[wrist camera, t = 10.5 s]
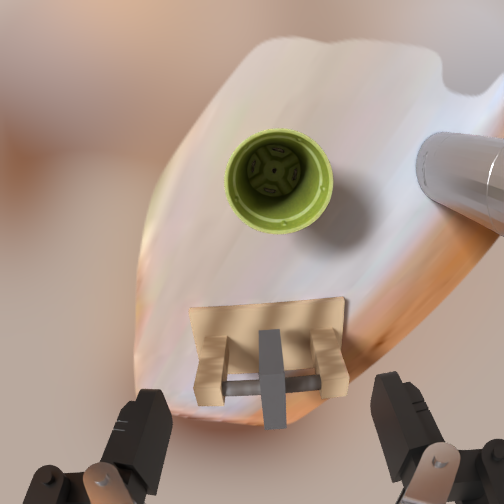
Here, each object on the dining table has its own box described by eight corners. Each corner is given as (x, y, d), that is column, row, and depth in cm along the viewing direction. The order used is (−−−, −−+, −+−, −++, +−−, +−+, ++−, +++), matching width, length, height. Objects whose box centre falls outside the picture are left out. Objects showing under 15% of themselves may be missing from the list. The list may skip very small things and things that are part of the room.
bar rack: (342, 296, 41) (366, 347, 30) (338, 360, 45) (355, 415, 34) (189, 307, 41) (171, 361, 31) (203, 370, 45) (192, 426, 35)
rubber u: (279, 328, 37) (284, 373, 30) (282, 383, 40) (286, 428, 33) (258, 330, 37) (259, 375, 30) (263, 384, 40) (264, 429, 33)
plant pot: (306, 217, 37) (321, 242, 29) (225, 204, 37) (217, 226, 28) (322, 138, 34) (342, 140, 26) (238, 123, 33) (232, 120, 25)
